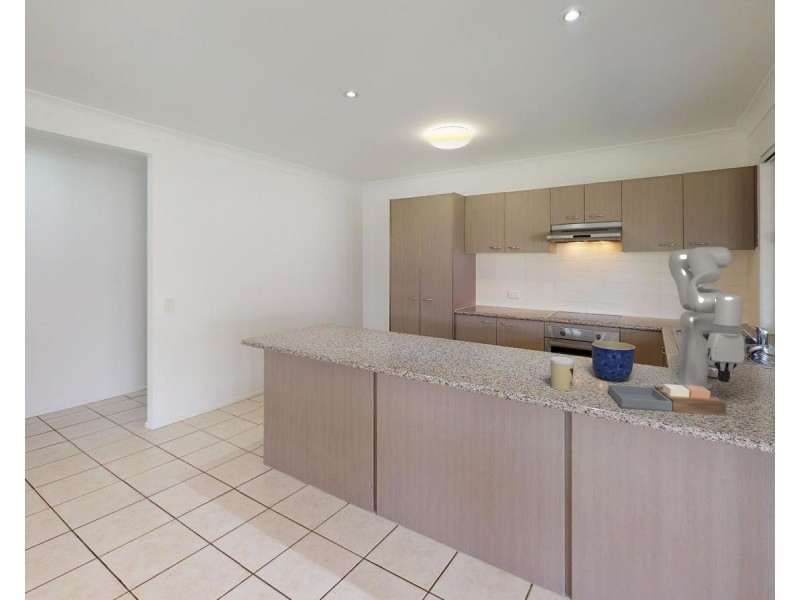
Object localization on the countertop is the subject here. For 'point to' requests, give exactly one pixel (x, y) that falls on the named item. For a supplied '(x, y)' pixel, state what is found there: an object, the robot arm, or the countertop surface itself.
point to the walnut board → (695, 404)
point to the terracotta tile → (698, 391)
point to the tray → (639, 398)
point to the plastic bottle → (712, 371)
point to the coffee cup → (561, 372)
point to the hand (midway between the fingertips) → (723, 381)
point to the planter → (612, 360)
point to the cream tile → (676, 390)
